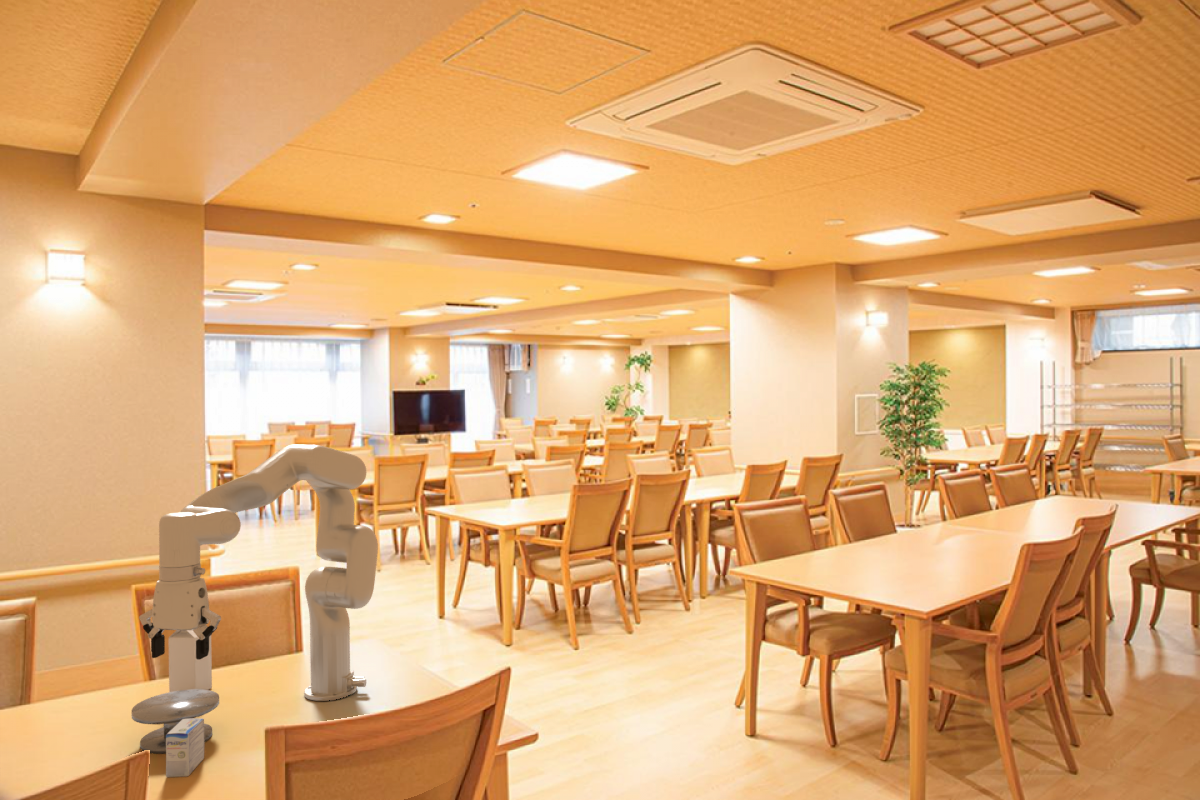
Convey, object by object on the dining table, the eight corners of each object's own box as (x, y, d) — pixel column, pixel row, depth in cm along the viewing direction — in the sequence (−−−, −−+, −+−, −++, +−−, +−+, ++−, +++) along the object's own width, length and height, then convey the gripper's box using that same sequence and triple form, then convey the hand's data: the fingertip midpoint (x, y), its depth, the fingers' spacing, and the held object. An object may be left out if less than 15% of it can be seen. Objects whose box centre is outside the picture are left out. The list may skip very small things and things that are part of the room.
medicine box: (182, 760, 168) (182, 718, 168) (205, 759, 168) (204, 717, 168) (165, 778, 160) (164, 734, 160) (189, 776, 160) (188, 732, 160)
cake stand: (234, 724, 186) (233, 689, 186) (194, 757, 169) (193, 718, 169) (161, 724, 187) (160, 689, 187) (114, 756, 170) (113, 718, 170)
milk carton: (212, 688, 210) (211, 614, 210) (195, 698, 203) (194, 622, 203) (186, 687, 211) (185, 614, 211) (169, 697, 204) (168, 621, 204)
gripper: (229, 570, 170) (230, 652, 170) (153, 569, 172) (153, 650, 172) (208, 577, 163) (208, 663, 162) (128, 576, 165) (128, 661, 164)
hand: (180, 656), depth 167 cm, fingers open, 9 cm apart
